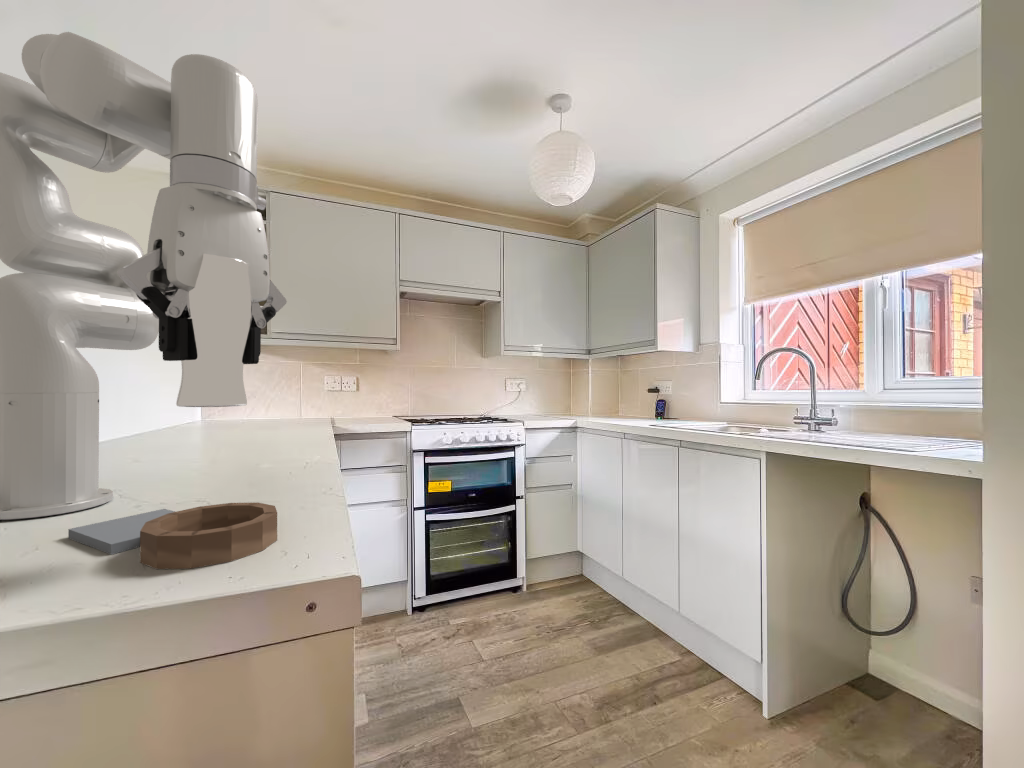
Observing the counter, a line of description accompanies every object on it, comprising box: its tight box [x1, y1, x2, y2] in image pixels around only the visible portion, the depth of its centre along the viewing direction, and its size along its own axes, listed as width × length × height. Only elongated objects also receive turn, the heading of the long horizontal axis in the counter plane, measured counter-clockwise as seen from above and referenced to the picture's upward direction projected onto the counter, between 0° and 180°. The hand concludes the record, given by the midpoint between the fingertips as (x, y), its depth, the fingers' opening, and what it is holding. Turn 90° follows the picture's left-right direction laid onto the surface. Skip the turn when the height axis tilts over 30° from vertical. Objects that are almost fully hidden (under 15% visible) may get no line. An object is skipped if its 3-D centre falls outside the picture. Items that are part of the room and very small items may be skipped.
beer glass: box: [173, 254, 253, 408], centre depth 46 cm, size 7×7×15 cm
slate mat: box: [67, 508, 176, 555], centre depth 50 cm, size 10×9×1 cm
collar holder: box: [139, 502, 278, 570], centre depth 46 cm, size 11×11×3 cm
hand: (213, 360), depth 46 cm, fingers closed on beer glass, 6 cm apart
